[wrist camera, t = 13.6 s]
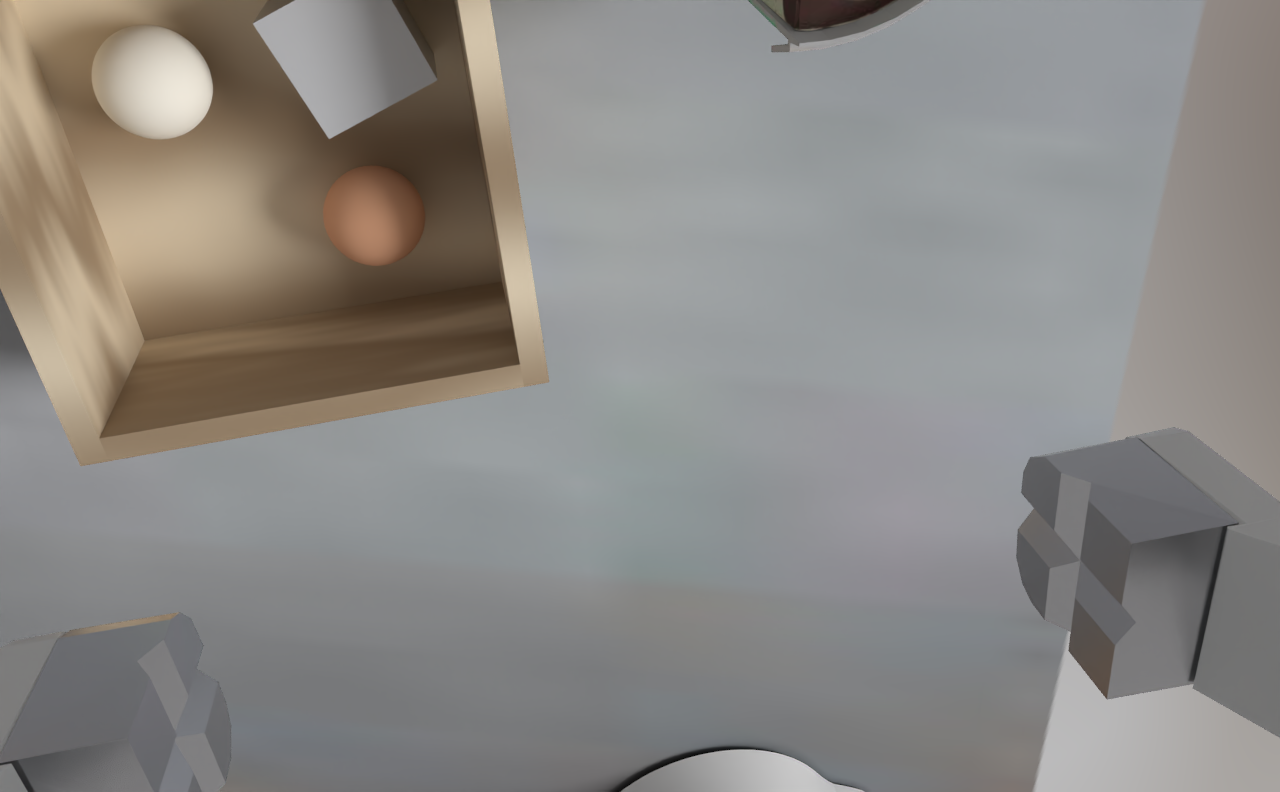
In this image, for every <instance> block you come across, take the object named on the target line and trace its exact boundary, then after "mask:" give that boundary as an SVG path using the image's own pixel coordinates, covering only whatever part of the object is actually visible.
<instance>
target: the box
mask: <svg viewBox="0 0 1280 792" xmlns="http://www.w3.org/2000/svg"><path fill="white" fill-rule="evenodd" d="M267 1H269V0H0V289H1V291H2V294H3V296H4V298H5V300H6V303H7V305H8V307H9V309H10V311H11V314H12V316H13V318H14V320H15V322H16V325H17V327H18V329H19V331H20V333H21V336H22V338H23V340H24V342H25V344H26V347H27V349H28V351H29V353H30V355H31V358H32V360H33V362H34V364H35V367H36V369H37V371H38V373H39V375H40V378H41V380H42V382H43V384H44V386H45V389H46V391H47V393H48V395H49V397H50V400H51V402H52V404H53V406H54V408H55V411H56V413H57V415H58V417H59V420H60V422H61V424H62V426H63V428H64V431H65V433H66V435H67V437H68V439H69V442H70V444H71V446H72V448H73V450H74V453H75V455H76V457H77V459H78V461H79V464H80V466H85V465H90V464H96V463H101V462H107V461H112V460H118V459H124V458H129V457H135V456H140V455H146V454H151V453H157V452H163V451H168V450H174V449H179V448H185V447H190V446H196V445H202V444H207V443H213V442H218V441H224V440H230V439H235V438H241V437H246V436H252V435H257V434H263V433H269V432H274V431H280V430H285V429H291V428H296V427H302V426H308V425H313V424H319V423H324V422H330V421H335V420H341V419H347V418H352V417H358V416H363V415H369V414H375V413H380V412H386V411H391V410H397V409H402V408H408V407H414V406H419V405H425V404H430V403H436V402H441V401H447V400H453V399H458V398H464V397H469V396H475V395H481V394H486V393H492V392H497V391H503V390H508V389H514V388H520V387H525V386H531V385H536V384H542V383H547V382H549V377H548V371H547V364H546V358H545V351H544V345H543V338H542V332H541V326H540V319H539V313H538V306H537V300H536V294H535V287H534V281H533V274H532V268H531V261H530V255H529V249H528V242H527V236H526V229H525V223H524V217H523V210H522V204H521V197H520V191H519V184H518V178H517V172H516V165H515V159H514V152H513V146H512V140H511V133H510V127H509V120H508V114H507V107H506V101H505V95H504V88H503V82H502V75H501V69H500V62H499V56H498V50H497V43H496V37H495V30H494V24H493V18H492V11H491V5H490V0H403V1H404V3H405V4H406V6H407V8H408V10H409V11H410V13H411V15H412V17H413V18H414V20H415V22H416V24H417V25H418V27H419V29H420V31H421V32H422V34H423V36H424V38H425V39H426V41H427V43H428V45H429V46H430V48H431V50H432V52H433V53H434V59H435V65H436V72H437V79H438V80H437V81H435V82H433V83H431V84H430V85H428V86H426V87H424V88H422V89H420V90H419V91H417V92H415V93H413V94H411V95H409V96H408V97H406V98H404V99H402V100H400V101H398V102H397V103H395V104H393V105H391V106H389V107H387V108H385V109H384V110H382V111H380V112H378V113H376V114H374V115H373V116H371V117H369V118H367V119H365V120H363V121H362V122H360V123H358V124H356V125H354V126H352V127H351V128H349V129H347V130H345V131H343V132H341V133H340V134H338V135H336V136H334V137H332V138H330V139H329V138H328V137H327V135H326V134H325V132H324V131H323V129H322V128H321V126H320V125H319V123H318V122H317V120H316V119H315V117H314V116H313V114H312V113H311V111H310V110H309V108H308V106H307V105H306V103H305V102H304V100H303V99H302V97H301V96H300V94H299V93H298V91H297V90H296V88H295V87H294V85H293V84H292V82H291V81H290V79H289V78H288V76H287V75H286V73H285V72H284V70H283V69H282V67H281V66H280V64H279V63H278V61H277V60H276V58H275V57H274V55H273V54H272V52H271V51H270V49H269V48H268V46H267V45H266V43H265V41H264V40H263V38H262V37H261V35H260V34H259V32H258V31H257V29H256V28H255V26H254V25H253V22H254V21H255V19H256V18H257V16H258V15H259V13H260V12H261V10H262V8H263V7H264V5H265V4H266V2H267ZM135 25H154V26H160V27H163V28H167V29H169V30H172V31H174V32H176V33H178V34H179V35H181V36H183V37H184V38H186V39H187V40H188V41H189V42H191V43H192V44H193V45H194V46H195V47H196V48H197V50H198V51H199V52H200V53H201V55H202V56H203V58H204V59H205V61H206V63H207V65H208V68H209V70H210V73H211V78H212V83H213V96H212V101H211V104H210V107H209V110H208V112H207V114H206V116H205V117H204V118H203V120H202V121H201V122H200V123H199V124H198V125H197V126H196V127H195V128H194V129H192V130H191V131H189V132H187V133H185V134H184V135H181V136H178V137H175V138H170V139H150V138H145V137H141V136H138V135H135V134H133V133H130V132H128V131H127V130H125V129H123V128H122V127H120V126H119V125H117V124H116V123H115V122H114V121H113V120H112V119H111V118H110V117H109V116H108V115H107V114H106V113H105V111H104V110H103V109H102V107H101V105H100V104H99V102H98V100H97V98H96V96H95V93H94V89H93V85H92V65H93V61H94V57H95V55H96V53H97V51H98V49H99V48H100V46H101V45H102V44H103V42H104V41H105V40H106V39H107V38H108V37H110V36H111V35H112V34H114V33H115V32H117V31H119V30H121V29H124V28H127V27H130V26H135ZM370 165H372V166H382V167H386V168H390V169H392V170H394V171H397V172H398V173H400V174H402V175H403V176H404V177H406V178H407V179H408V180H409V181H410V182H411V183H412V184H413V186H414V187H415V188H416V189H417V191H418V193H419V194H420V197H421V199H422V202H423V206H424V210H425V225H424V230H423V234H422V236H421V238H420V240H419V242H418V244H417V245H416V247H415V248H414V249H413V250H412V251H411V252H410V253H409V254H408V255H407V256H405V257H404V258H402V259H401V260H399V261H397V262H394V263H391V264H388V265H382V266H371V265H365V264H361V263H358V262H355V261H353V260H351V259H350V258H348V257H346V256H345V255H344V254H342V253H341V252H340V251H339V250H338V249H337V248H336V247H335V246H334V244H333V243H332V241H331V240H330V238H329V236H328V234H327V232H326V229H325V225H324V220H323V207H324V202H325V198H326V196H327V193H328V191H329V189H330V188H331V186H332V185H333V184H334V182H335V181H336V180H337V179H338V178H339V177H341V176H342V175H343V174H345V173H346V172H348V171H350V170H352V169H355V168H357V167H362V166H370Z"/></svg>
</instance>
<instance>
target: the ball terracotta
mask: <svg viewBox="0 0 1280 792" xmlns="http://www.w3.org/2000/svg"><path fill="white" fill-rule="evenodd" d="M323 220H324V225H325V229H326V232H327V234H328V236H329V238H330V240H331V241H332V243H333V244H334V246H335V247H336V248H337V249H338V250H339V251H340V252H341V253H342V254H344V255H345V256H346V257H348V258H350V259H351V260H353V261H355V262H358V263H361V264H365V265H371V266H382V265H388V264H391V263H394V262H397V261H399V260H401V259H402V258H404V257H405V256H407V255H408V254H409V253H410V252H411V251H412V250H413V249H414V248H415V247H416V245H417V244H418V242H419V240H420V238H421V236H422V234H423V230H424V225H425V210H424V206H423V202H422V199H421V197H420V194H419V193H418V191H417V189H416V188H415V187H414V186H413V184H412V183H411V182H410V181H409V180H408V179H407V178H406V177H404V176H403V175H402V174H400V173H398V172H397V171H394V170H392V169H390V168H386V167H382V166H372V165H370V166H362V167H357V168H355V169H352V170H350V171H348V172H346V173H345V174H343V175H342V176H341V177H339V178H338V179H337V180H336V181H335V182H334V184H333V185H332V186H331V188H330V189H329V191H328V193H327V196H326V198H325V202H324V207H323Z"/></svg>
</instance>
